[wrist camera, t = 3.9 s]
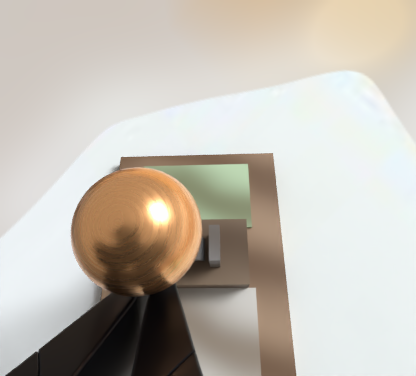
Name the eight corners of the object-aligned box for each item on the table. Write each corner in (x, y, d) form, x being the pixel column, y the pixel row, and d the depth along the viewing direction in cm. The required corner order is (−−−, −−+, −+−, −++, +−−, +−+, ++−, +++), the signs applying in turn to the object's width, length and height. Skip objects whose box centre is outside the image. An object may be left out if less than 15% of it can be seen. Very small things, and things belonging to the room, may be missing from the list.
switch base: (295, 397, 17) (320, 423, 13) (93, 395, 18) (48, 419, 13) (271, 159, 24) (281, 121, 19) (124, 163, 25) (102, 126, 20)
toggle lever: (215, 276, 17) (196, 305, 5) (164, 276, 17) (30, 306, 5) (214, 224, 18) (197, 146, 6) (165, 225, 18) (51, 149, 6)
